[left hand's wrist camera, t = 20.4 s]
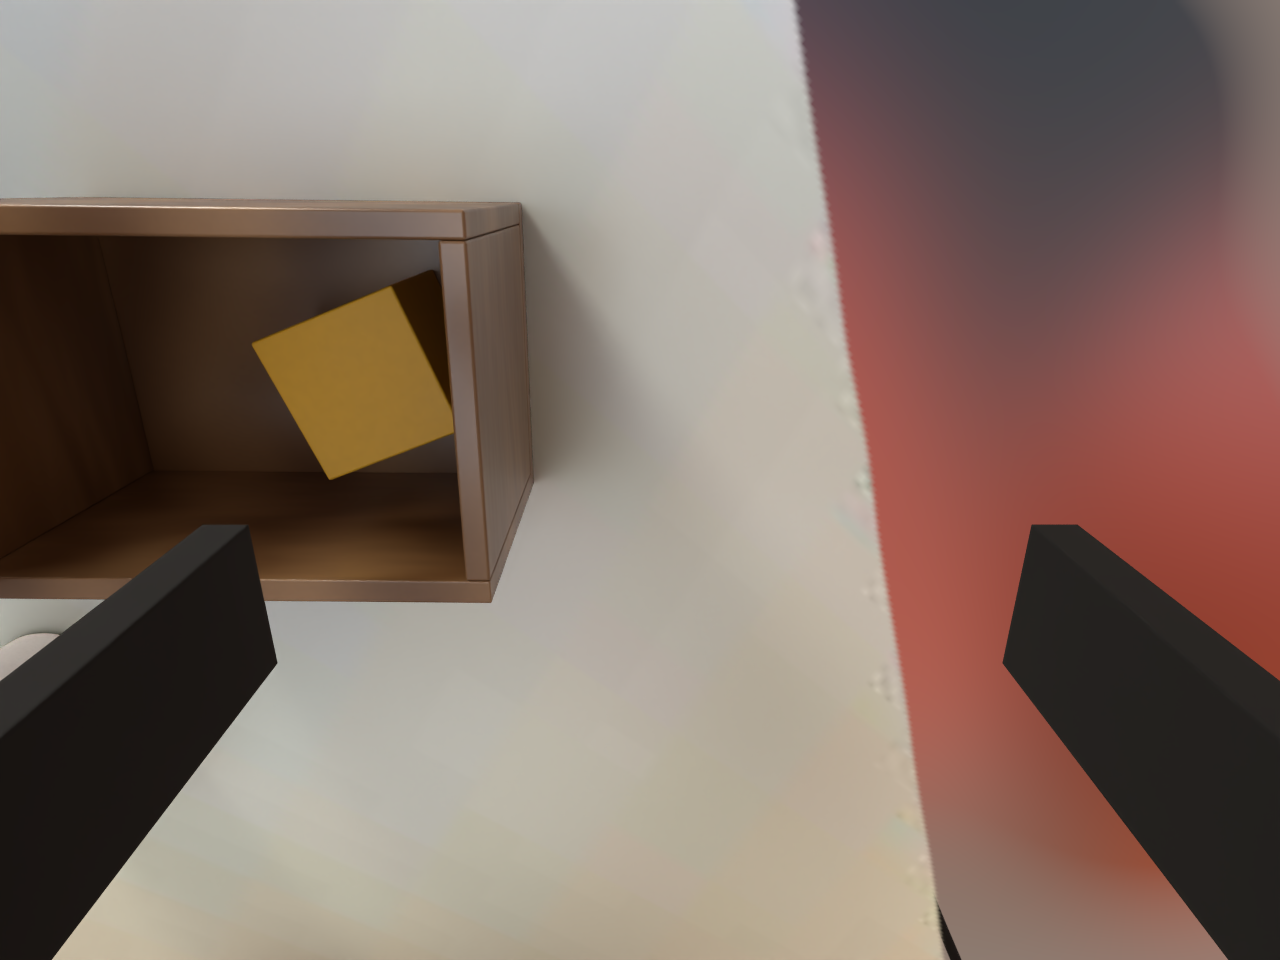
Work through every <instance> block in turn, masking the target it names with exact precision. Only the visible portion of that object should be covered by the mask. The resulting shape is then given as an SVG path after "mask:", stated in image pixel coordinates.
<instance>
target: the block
mask: <svg viewBox="0 0 1280 960" xmlns="http://www.w3.org/2000/svg"><path fill="white" fill-rule="evenodd" d="M252 347H253V348H254V350H255V352H256V353H257V355H258V357H259V359H260V360H261V362H262V364H263V366H264V367H265V369H266V371H267V373H268V374H269V376H270V378H271V380H272V381H273V383H274V385H275V387H276V388H277V390H278V392H279V394H280V395H281V397H282V399H283V400H284V402H285V404H286V406H287V407H288V409H289V411H290V413H291V414H292V416H293V418H294V420H295V421H296V423H297V425H298V427H299V428H300V430H301V432H302V434H303V435H304V437H305V439H306V440H307V442H308V444H309V446H310V447H311V449H312V451H313V453H314V454H315V456H316V458H317V460H318V461H319V463H320V465H321V467H322V468H323V470H324V472H325V474H326V475H327V477H328V479H329V480H333V479H335V478H338V477H341V476H343V475H346V474H348V473H351V472H354V471H356V470H359V469H362V468H364V467H367V466H369V465H372V464H375V463H377V462H380V461H383V460H385V459H388V458H390V457H393V456H396V455H398V454H401V453H404V452H406V451H409V450H412V449H414V448H417V447H419V446H422V445H425V444H427V443H430V442H433V441H435V440H438V439H440V438H443V437H446V436H448V435H451V434H454V429H453V417H452V405H451V392H450V380H449V368H448V356H447V344H446V332H445V320H444V308H443V296H442V289H441V287H440V285H439V283H438V280H437V278H436V276H435V274H434V272H433V271H432V270H428V271H425V272H423V273H420V274H418V275H415V276H413V277H410V278H407V279H405V280H402V281H400V282H397V283H395V284H392V285H390V286H387V287H385V288H382V289H380V290H377V291H375V292H373V293H370V294H368V295H365V296H363V297H360V298H358V299H356V300H353V301H351V302H348V303H346V304H344V305H341V306H339V307H336V308H334V309H331V310H329V311H327V312H324V313H322V314H319V315H317V316H315V317H312V318H310V319H307V320H305V321H302V322H300V323H298V324H295V325H293V326H290V327H288V328H286V329H283V330H281V331H278V332H276V333H273V334H271V335H269V336H266V337H264V338H261V339H259V340H256V341H254V342H253V343H252Z"/></svg>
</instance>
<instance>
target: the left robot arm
mask: <svg viewBox="0 0 1280 960" xmlns="http://www.w3.org/2000/svg"><path fill="white" fill-rule="evenodd" d="M276 664H277V659H276V654H275V649H274V644H273V640H272V635H271V630H270V625H269V621H268V616H267V611H266V606H265V602H264V597H263V592H262V587H261V583H260V578H259V573H258V568H257V563H256V559H255V554H254V549H253V544H252V540H251V535H250V530H249V525H202V526H200V527H199V528H198V529H196V530H195V531H194V532H193V533H191V534H190V535H189V536H187V537H186V538H185V539H183V540H182V541H181V542H180V543H178V544H177V545H176V546H174V547H173V548H172V549H170V550H169V551H168V552H167V553H165V554H164V555H163V556H161V557H160V558H159V559H158V560H156V561H155V562H154V563H152V564H151V565H150V566H148V567H147V568H146V569H145V570H143V571H142V572H141V573H139V574H138V575H137V576H136V577H134V578H133V579H132V580H130V581H129V582H128V583H126V584H125V585H124V586H123V587H121V588H120V589H119V590H117V591H116V592H115V593H114V594H112V595H111V596H110V597H108V598H107V599H106V600H104V601H103V602H102V603H101V604H99V605H98V606H97V607H95V608H94V609H93V610H92V611H90V612H89V613H88V614H86V615H85V616H84V617H82V618H81V619H80V620H79V621H77V622H76V623H75V624H73V625H72V626H71V627H69V628H68V629H67V630H66V631H64V632H63V633H62V634H60V635H59V636H58V637H57V638H55V639H54V640H53V641H51V642H50V643H49V644H47V645H46V646H45V647H44V648H42V649H41V650H40V651H38V652H37V653H36V654H35V655H33V656H32V657H31V658H29V659H28V660H27V661H25V662H24V663H23V664H22V665H20V666H19V667H18V668H16V669H15V670H14V671H13V672H11V673H10V674H9V675H7V676H6V677H5V678H3V679H2V680H1V681H0V960H52V959H53V957H54V956H55V955H56V953H57V952H58V951H59V949H60V948H61V947H62V946H63V944H64V943H65V942H66V940H67V939H68V938H69V936H70V935H71V934H72V932H73V931H74V930H75V928H76V927H77V926H78V925H79V923H80V922H81V921H82V919H83V918H84V917H85V915H86V914H87V913H88V911H89V910H90V909H91V907H92V906H93V905H94V903H95V902H96V901H97V900H98V898H99V897H100V896H101V894H102V893H103V892H104V890H105V889H106V888H107V886H108V885H109V884H110V882H111V881H112V880H113V879H114V877H115V876H116V875H117V873H118V872H119V871H120V869H121V868H122V867H123V865H124V864H125V863H126V861H127V860H128V859H129V858H130V856H131V855H132V854H133V852H134V851H135V850H136V848H137V847H138V846H139V844H140V843H141V842H142V840H143V839H144V838H145V837H146V835H147V834H148V833H149V831H150V830H151V829H152V827H153V826H154V825H155V823H156V822H157V821H158V819H159V818H160V817H161V815H162V814H163V813H164V812H165V810H166V809H167V808H168V806H169V805H170V804H171V802H172V801H173V800H174V798H175V797H176V796H177V794H178V793H179V792H180V791H181V789H182V788H183V787H184V785H185V784H186V783H187V781H188V780H189V779H190V777H191V776H192V775H193V773H194V772H195V771H196V770H197V768H198V767H199V766H200V764H201V763H202V762H203V760H204V759H205V758H206V756H207V755H208V754H209V752H210V751H211V750H212V748H213V747H214V746H215V745H216V743H217V742H218V741H219V739H220V738H221V737H222V735H223V734H224V733H225V731H226V730H227V729H228V727H229V726H230V725H231V724H232V722H233V721H234V720H235V718H236V717H237V716H238V714H239V713H240V712H241V710H242V709H243V708H244V706H245V705H246V704H247V703H248V701H249V700H250V699H251V697H252V696H253V695H254V693H255V692H256V691H257V689H258V688H259V687H260V685H261V684H262V683H263V681H264V680H265V679H266V678H267V676H268V675H269V674H270V672H271V671H272V670H273V668H274V667H275V666H276ZM1003 664H1004V666H1005V667H1006V668H1007V670H1008V671H1009V672H1010V674H1011V675H1012V676H1013V677H1014V679H1015V680H1016V681H1017V683H1018V684H1019V685H1020V687H1021V688H1022V689H1023V691H1024V692H1025V693H1026V695H1027V696H1028V697H1029V699H1030V700H1031V701H1032V703H1033V704H1034V705H1035V706H1036V708H1037V709H1038V710H1039V712H1040V713H1041V714H1042V716H1043V717H1044V718H1045V720H1046V721H1047V722H1048V724H1049V725H1050V726H1051V727H1052V729H1053V730H1054V731H1055V733H1056V734H1057V735H1058V737H1059V738H1060V739H1061V741H1062V742H1063V743H1064V745H1065V746H1066V747H1067V748H1068V750H1069V751H1070V752H1071V754H1072V755H1073V756H1074V758H1075V759H1076V760H1077V762H1078V763H1079V764H1080V766H1081V767H1082V768H1083V770H1084V771H1085V772H1086V773H1087V775H1088V776H1089V777H1090V779H1091V780H1092V781H1093V783H1094V784H1095V785H1096V787H1097V788H1098V789H1099V791H1100V792H1101V793H1102V794H1103V796H1104V797H1105V798H1106V800H1107V801H1108V802H1109V804H1110V805H1111V806H1112V808H1113V809H1114V810H1115V812H1116V813H1117V814H1118V815H1119V817H1120V818H1121V819H1122V821H1123V822H1124V823H1125V825H1126V826H1127V827H1128V829H1129V830H1130V831H1131V833H1132V834H1133V835H1134V836H1135V838H1136V839H1137V840H1138V842H1139V843H1140V844H1141V846H1142V847H1143V848H1144V850H1145V851H1146V852H1147V854H1148V855H1149V856H1150V858H1151V859H1152V860H1153V861H1154V863H1155V864H1156V865H1157V867H1158V868H1159V869H1160V871H1161V872H1162V873H1163V875H1164V876H1165V877H1166V879H1167V880H1168V881H1169V882H1170V884H1171V885H1172V886H1173V888H1174V889H1175V890H1176V892H1177V893H1178V894H1179V896H1180V897H1181V898H1182V900H1183V901H1184V902H1185V903H1186V905H1187V906H1188V907H1189V909H1190V910H1191V911H1192V913H1193V914H1194V915H1195V917H1196V918H1197V919H1198V921H1199V922H1200V923H1201V924H1202V926H1203V927H1204V928H1205V930H1206V931H1207V932H1208V934H1209V935H1210V936H1211V938H1212V939H1213V940H1214V942H1215V943H1216V944H1217V945H1218V947H1219V948H1220V949H1221V951H1222V952H1223V953H1224V955H1225V956H1226V957H1227V959H1228V960H1280V681H1279V680H1278V679H1277V678H1275V677H1274V676H1273V675H1271V674H1270V673H1269V672H1267V671H1266V670H1265V669H1264V668H1262V667H1261V666H1260V665H1258V664H1257V663H1256V662H1255V661H1253V660H1252V659H1251V658H1249V657H1248V656H1247V655H1245V654H1244V653H1243V652H1242V651H1240V650H1239V649H1238V648H1236V647H1235V646H1234V645H1232V644H1231V643H1230V642H1229V641H1227V640H1226V639H1225V638H1223V637H1222V636H1221V635H1220V634H1218V633H1217V632H1216V631H1214V630H1213V629H1212V628H1211V627H1209V626H1208V625H1207V624H1205V623H1204V622H1203V621H1201V620H1200V619H1199V618H1198V617H1196V616H1195V615H1194V614H1192V613H1191V612H1190V611H1188V610H1187V609H1186V608H1185V607H1183V606H1182V605H1181V604H1179V603H1178V602H1177V601H1176V600H1174V599H1173V598H1172V597H1170V596H1169V595H1168V594H1166V593H1165V592H1164V591H1163V590H1161V589H1160V588H1159V587H1157V586H1156V585H1155V584H1154V583H1152V582H1151V581H1150V580H1148V579H1147V578H1146V577H1144V576H1143V575H1142V574H1141V573H1139V572H1138V571H1137V570H1135V569H1134V568H1133V567H1132V566H1130V565H1129V564H1128V563H1126V562H1125V561H1124V560H1122V559H1121V558H1120V557H1119V556H1117V555H1116V554H1115V553H1113V552H1112V551H1111V550H1109V549H1108V548H1107V547H1106V546H1104V545H1103V544H1102V543H1100V542H1099V541H1098V540H1096V539H1095V538H1094V537H1093V536H1091V535H1090V534H1089V533H1087V532H1086V531H1085V530H1084V529H1082V528H1081V527H1080V526H1078V525H1032V526H1031V530H1030V535H1029V540H1028V544H1027V549H1026V554H1025V559H1024V563H1023V568H1022V573H1021V578H1020V583H1019V587H1018V592H1017V597H1016V602H1015V606H1014V611H1013V616H1012V621H1011V625H1010V630H1009V635H1008V640H1007V645H1006V649H1005V654H1004V659H1003ZM935 898H936V897H935ZM936 904H937V905H936V906H937V912H938V913H937V914H938V922H939V931H940V936H941V939H942V941H943V944H944V946H945V949H946V951H947V953H948V956H949V958H950V960H961V957H960V955H959V952H958V950H957V948H956V945H955V943H954V941H953V938H952V936H951V934H950V931H949V929H948V927H947V924H946V922H945V919H944V917H943V915H942V912H941V910H940V907H939V905H938V902H937V900H936Z"/></svg>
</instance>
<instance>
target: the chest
mask: <svg viewBox="0 0 1280 960" xmlns="http://www.w3.org/2000/svg"><path fill="white" fill-rule="evenodd" d="M428 270H432V271H433V272H434V274H435V276H436V278H437V280H438V283H439V285H440V287H441V289H442V296H443V308H444V320H445V332H446V344H447V356H448V368H449V380H450V392H451V405H452V417H453V429H454V434H451V435H448V436H446V437H443V438H440V439H438V440H435V441H433V442H430V443H427V444H425V445H422V446H419V447H417V448H414V449H412V450H409V451H406V452H404V453H401V454H398V455H396V456H393V457H390V458H388V459H385V460H383V461H380V462H377V463H375V464H372V465H369V466H367V467H364V468H362V469H359V470H356V471H354V472H351V473H348V474H346V475H343V476H341V477H338V478H335V479H333V480H329V479H328V477H327V475H326V474H325V472H324V470H323V468H322V467H321V465H320V463H319V461H318V460H317V458H316V456H315V454H314V453H313V451H312V449H311V447H310V446H309V444H308V442H307V440H306V439H305V437H304V435H303V434H302V432H301V430H300V428H299V427H298V425H297V423H296V421H295V420H294V418H293V416H292V414H291V413H290V411H289V409H288V407H287V406H286V404H285V402H284V400H283V399H282V397H281V395H280V394H279V392H278V390H277V388H276V387H275V385H274V383H273V381H272V380H271V378H270V376H269V374H268V373H267V371H266V369H265V367H264V366H263V364H262V362H261V360H260V359H259V357H258V355H257V353H256V352H255V350H254V348H253V347H252V343H253V342H254V341H256V340H259V339H261V338H264V337H266V336H269V335H271V334H273V333H276V332H278V331H281V330H283V329H286V328H288V327H290V326H293V325H295V324H298V323H300V322H302V321H305V320H307V319H310V318H312V317H315V316H317V315H319V314H322V313H324V312H327V311H329V310H331V309H334V308H336V307H339V306H341V305H344V304H346V303H348V302H351V301H353V300H356V299H358V298H360V297H363V296H365V295H368V294H370V293H373V292H375V291H377V290H380V289H382V288H385V287H387V286H390V285H392V284H395V283H397V282H400V281H402V280H405V279H407V278H410V277H413V276H415V275H418V274H420V273H423V272H425V271H428ZM533 483H534V482H533V459H532V436H531V413H530V389H529V366H528V343H527V320H526V297H525V274H524V250H523V227H522V205H521V203H515V202H433V201H352V200H271V199H189V198H108V197H66V198H1V199H0V598H11V599H107V598H108V597H110V596H111V595H112V594H114V593H115V592H116V591H117V590H119V589H120V588H121V587H123V586H124V585H125V584H126V583H128V582H129V581H130V580H132V579H133V578H134V577H136V576H137V575H138V574H139V573H141V572H142V571H143V570H145V569H146V568H147V567H148V566H150V565H151V564H152V563H154V562H155V561H156V560H158V559H159V558H160V557H161V556H163V555H164V554H165V553H167V552H168V551H169V550H170V549H172V548H173V547H174V546H176V545H177V544H178V543H180V542H181V541H182V540H183V539H185V538H186V537H187V536H189V535H190V534H191V533H193V532H194V531H195V530H196V529H198V528H199V527H200V526H202V525H249V530H250V535H251V540H252V544H253V549H254V554H255V559H256V563H257V568H258V573H259V578H260V583H261V587H262V592H263V597H264V601H347V602H459V603H491V602H492V599H493V596H494V594H495V591H496V588H497V585H498V582H499V580H500V577H501V574H502V571H503V568H504V565H505V563H506V560H507V557H508V554H509V551H510V549H511V546H512V543H513V540H514V537H515V534H516V532H517V529H518V526H519V523H520V520H521V518H522V515H523V512H524V509H525V506H526V503H527V501H528V498H529V495H530V492H531V489H532V486H533Z"/></svg>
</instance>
